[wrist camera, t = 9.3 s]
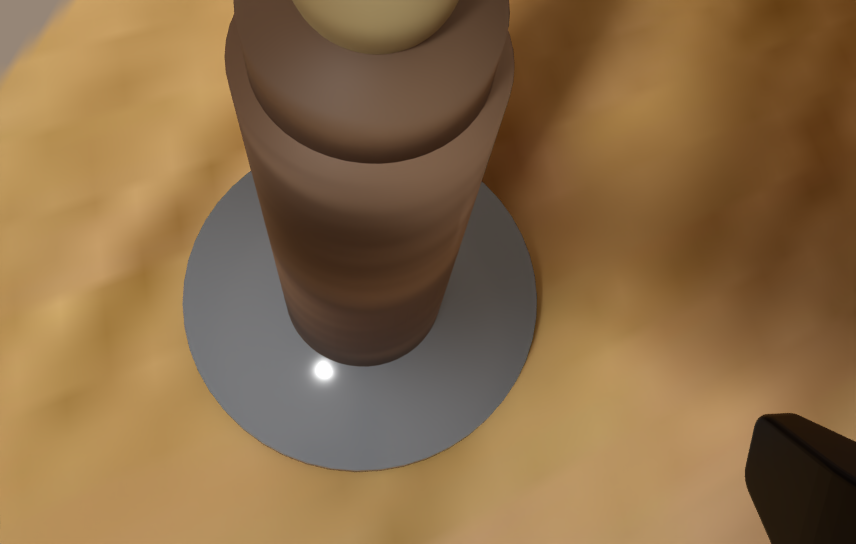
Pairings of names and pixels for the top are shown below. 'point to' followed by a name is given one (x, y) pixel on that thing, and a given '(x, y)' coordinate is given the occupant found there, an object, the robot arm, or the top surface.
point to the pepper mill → (367, 154)
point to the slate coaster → (351, 385)
